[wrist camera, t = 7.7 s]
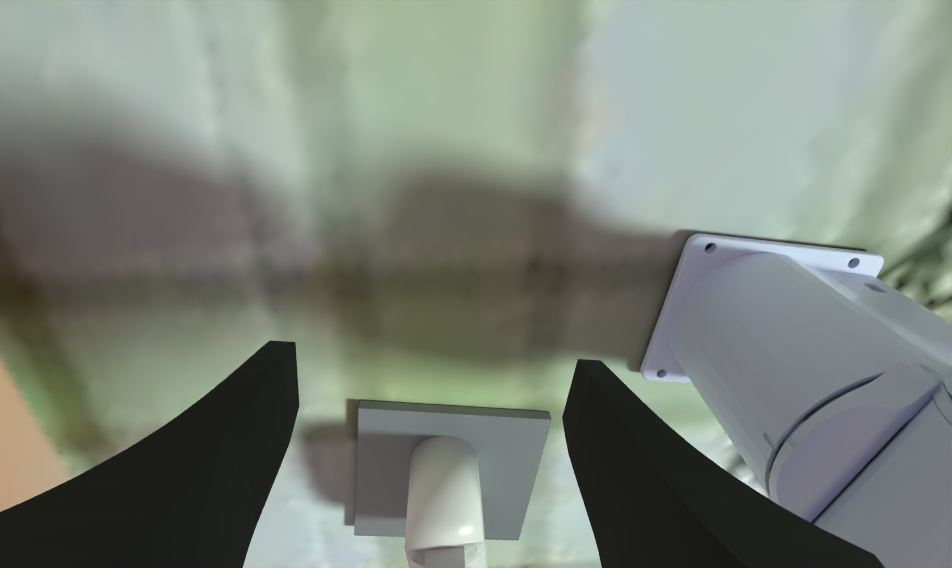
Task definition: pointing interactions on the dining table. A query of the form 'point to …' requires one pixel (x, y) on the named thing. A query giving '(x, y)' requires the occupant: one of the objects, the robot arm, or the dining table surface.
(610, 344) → the dining table surface
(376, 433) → the slate coaster
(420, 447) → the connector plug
